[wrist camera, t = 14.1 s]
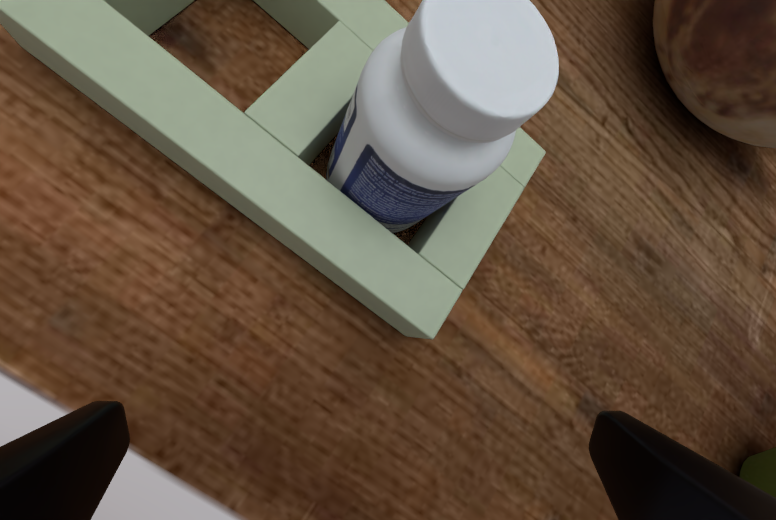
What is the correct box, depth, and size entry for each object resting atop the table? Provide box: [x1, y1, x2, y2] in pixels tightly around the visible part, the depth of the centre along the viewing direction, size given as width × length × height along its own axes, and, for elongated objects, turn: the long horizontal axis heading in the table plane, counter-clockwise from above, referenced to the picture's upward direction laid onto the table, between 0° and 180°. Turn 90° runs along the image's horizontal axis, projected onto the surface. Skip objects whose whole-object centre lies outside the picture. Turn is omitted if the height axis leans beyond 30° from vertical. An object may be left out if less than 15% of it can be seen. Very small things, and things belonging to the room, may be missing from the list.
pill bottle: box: [327, 0, 559, 233], centre depth 13 cm, size 5×5×10 cm
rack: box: [0, 0, 546, 339], centre depth 16 cm, size 11×20×3 cm, turn 55°
